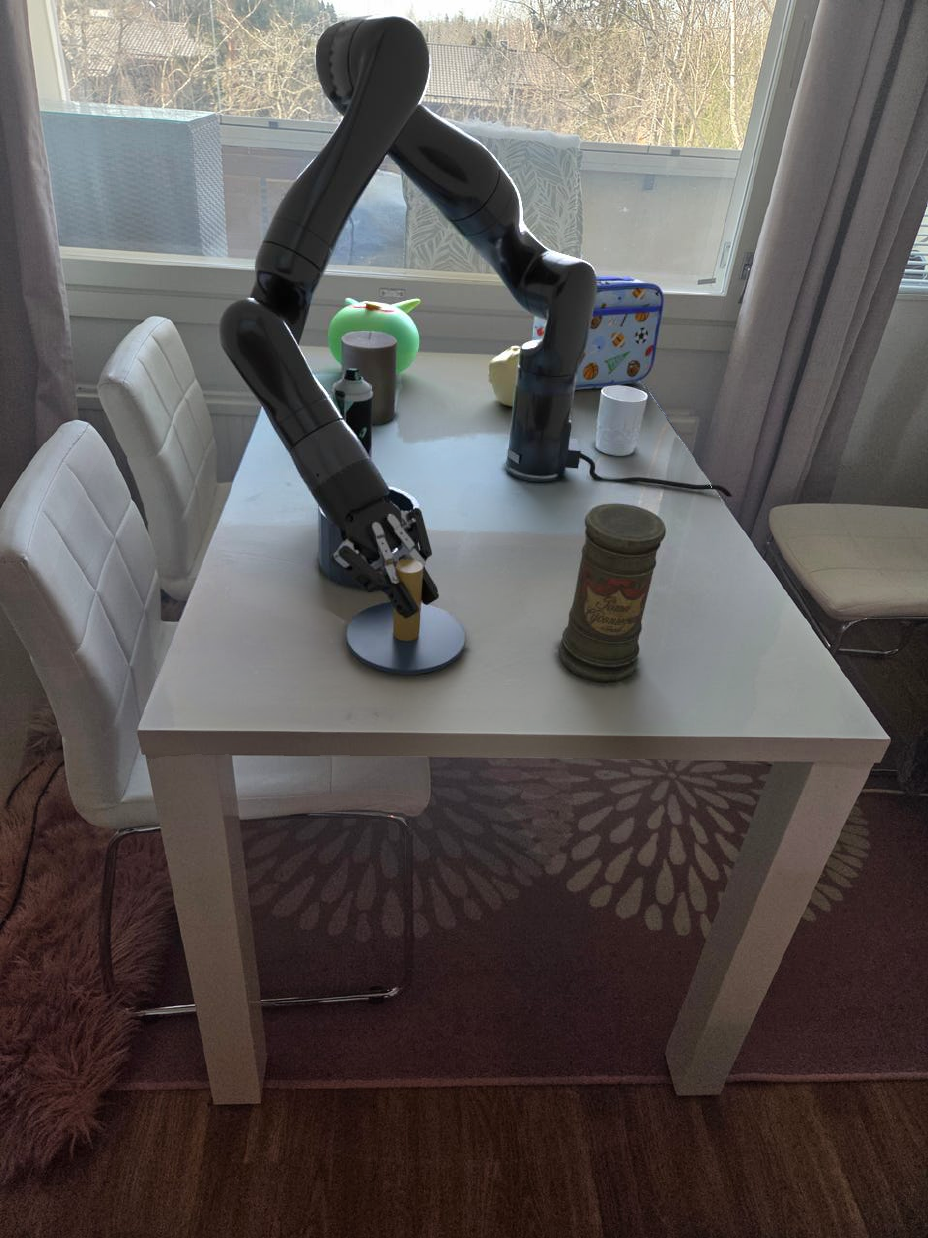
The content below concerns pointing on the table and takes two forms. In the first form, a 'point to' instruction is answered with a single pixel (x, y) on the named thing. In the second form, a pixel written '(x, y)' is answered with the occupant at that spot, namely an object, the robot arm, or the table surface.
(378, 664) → the lid
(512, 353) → the sculpture
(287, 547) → the table surface
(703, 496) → the table surface
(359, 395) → the spray can
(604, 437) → the white cup
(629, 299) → the lunch box
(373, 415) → the pillar candle
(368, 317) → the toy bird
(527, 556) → the table surface
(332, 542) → the tin
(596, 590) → the container
